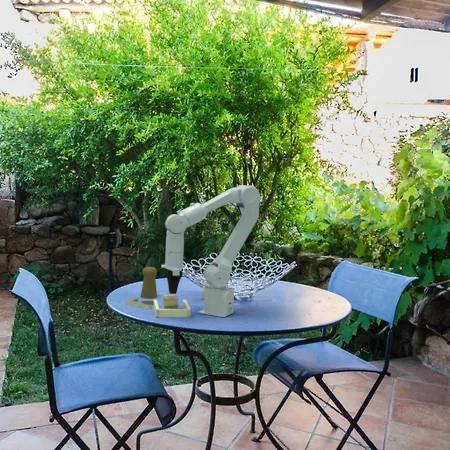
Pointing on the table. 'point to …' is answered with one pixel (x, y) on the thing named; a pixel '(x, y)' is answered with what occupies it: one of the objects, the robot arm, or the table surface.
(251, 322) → the table surface
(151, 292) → the cork
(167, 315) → the u-shaped bracket
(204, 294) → the tan rounded-top cylinder
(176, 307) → the block
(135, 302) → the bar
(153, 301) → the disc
